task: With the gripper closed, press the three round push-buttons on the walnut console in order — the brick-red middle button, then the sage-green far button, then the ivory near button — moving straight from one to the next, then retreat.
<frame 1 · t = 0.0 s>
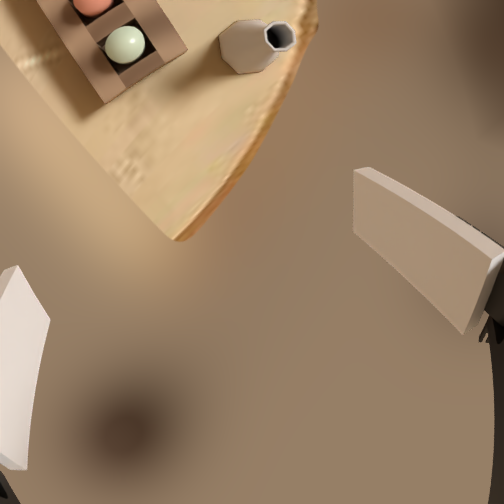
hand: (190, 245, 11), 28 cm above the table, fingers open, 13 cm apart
button sage: (126, 46, 24), point 4 cm above the table, slide at 0.0 cm
flask: (247, 46, 31), on the table
console: (100, 7, 23), on the table
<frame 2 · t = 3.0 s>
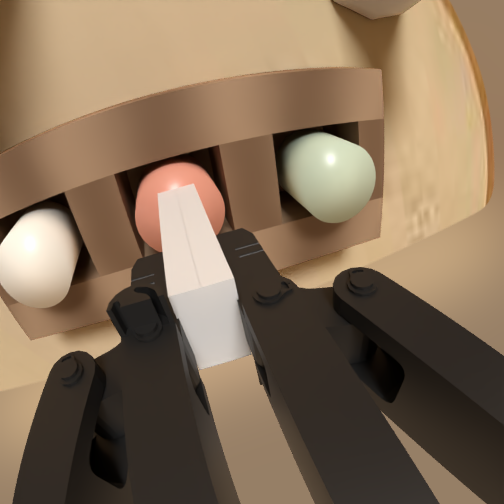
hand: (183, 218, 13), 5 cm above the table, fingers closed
button ivory: (41, 252, 12), point 4 cm above the table, slide at 0.0 cm
button sage: (323, 172, 15), point 4 cm above the table, slide at 0.0 cm
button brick: (176, 200, 14), point 3 cm above the table, slide at -0.9 cm, touching gripper
console: (172, 180, 17), on the table
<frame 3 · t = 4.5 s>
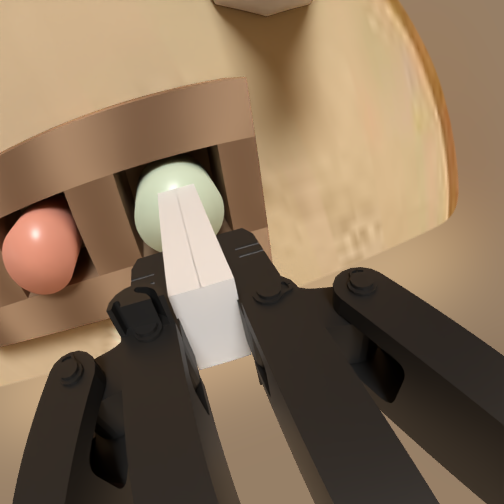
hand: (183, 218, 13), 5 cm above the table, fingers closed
button sage: (176, 200, 14), point 3 cm above the table, slide at -0.9 cm, touching gripper
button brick: (45, 242, 13), point 3 cm above the table, slide at -1.0 cm
console: (59, 216, 16), on the table
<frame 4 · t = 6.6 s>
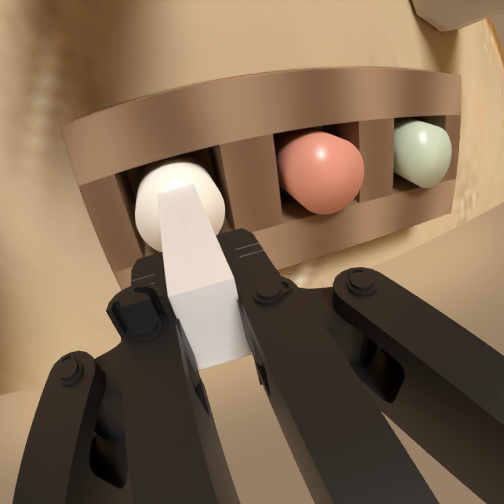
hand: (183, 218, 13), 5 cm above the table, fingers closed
button ivory: (176, 200, 14), point 3 cm above the table, slide at -0.9 cm, touching gripper
button sage: (412, 149, 17), point 3 cm above the table, slide at -0.9 cm
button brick: (314, 166, 16), point 3 cm above the table, slide at -1.0 cm
console: (289, 152, 18), on the table
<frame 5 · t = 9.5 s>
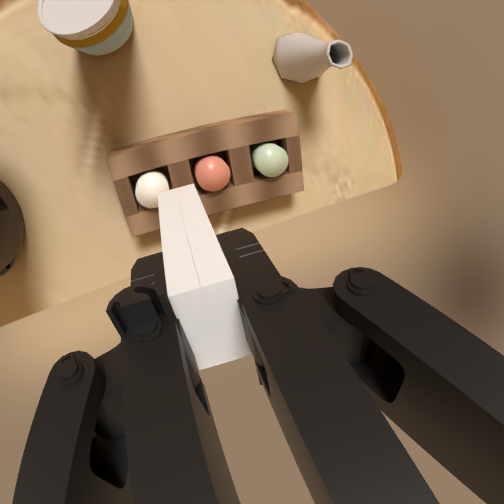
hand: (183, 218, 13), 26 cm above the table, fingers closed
button ivory: (152, 187, 34), point 3 cm above the table, slide at -1.0 cm
button sage: (268, 158, 37), point 3 cm above the table, slide at -0.9 cm
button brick: (210, 171, 36), point 3 cm above the table, slide at -1.0 cm
flask: (297, 57, 34), on the table
bottle: (104, 29, 26), on the table
console: (206, 164, 38), on the table
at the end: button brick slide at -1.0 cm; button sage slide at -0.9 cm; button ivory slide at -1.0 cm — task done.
